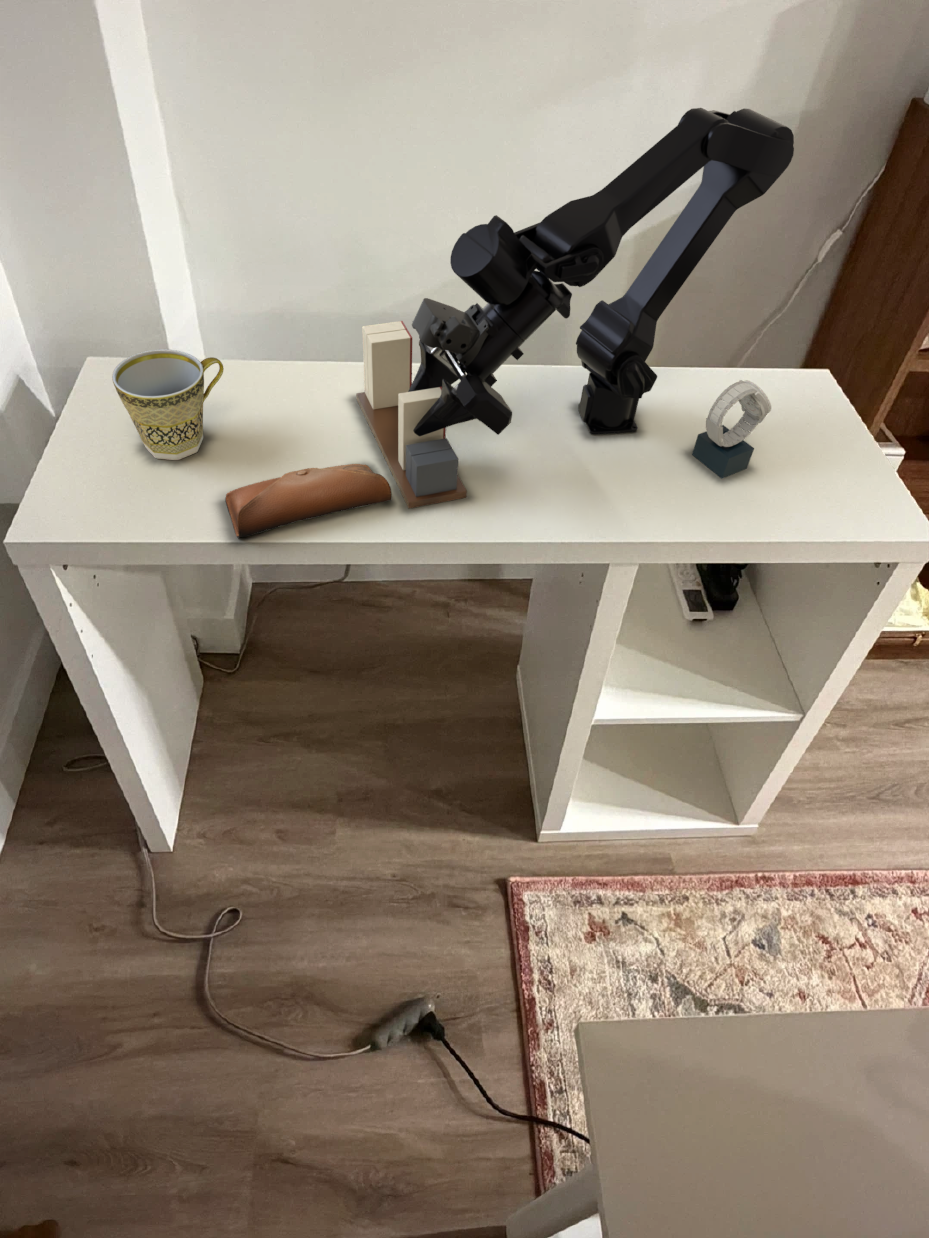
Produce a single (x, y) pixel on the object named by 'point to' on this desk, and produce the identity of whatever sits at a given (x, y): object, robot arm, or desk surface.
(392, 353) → the white books
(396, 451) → the shelf board
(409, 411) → the white book
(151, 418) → the ceramic cup
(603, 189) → the robot arm
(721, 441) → the watch
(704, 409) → the desk surface
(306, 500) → the sunglasses case
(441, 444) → the grey books
